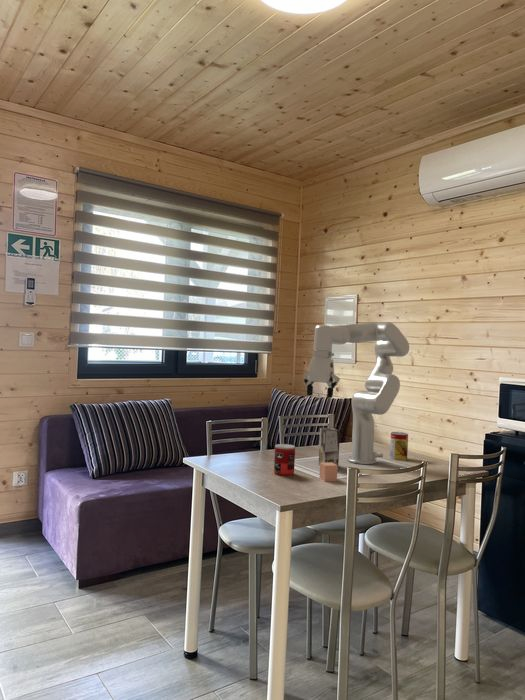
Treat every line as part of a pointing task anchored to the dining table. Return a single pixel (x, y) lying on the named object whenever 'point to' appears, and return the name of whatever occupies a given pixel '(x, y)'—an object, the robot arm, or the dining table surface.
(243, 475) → the dining table surface
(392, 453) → the canned food
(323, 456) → the coffee box
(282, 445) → the canned food
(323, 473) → the block
